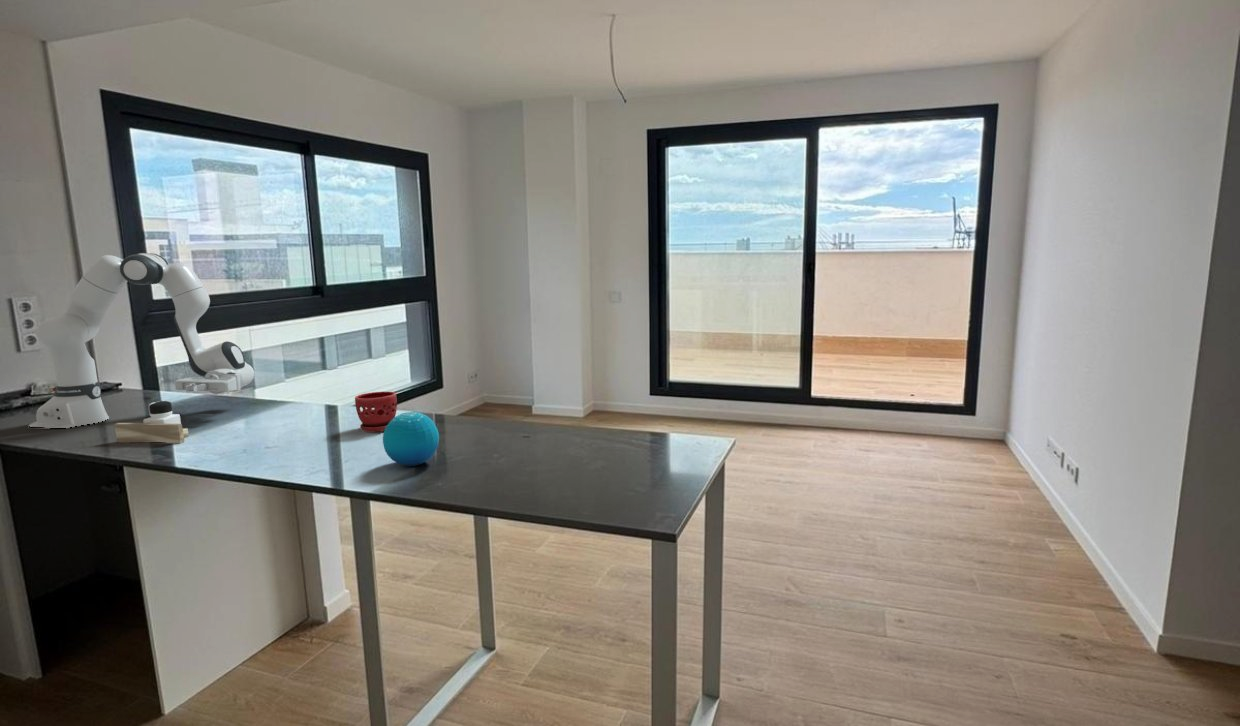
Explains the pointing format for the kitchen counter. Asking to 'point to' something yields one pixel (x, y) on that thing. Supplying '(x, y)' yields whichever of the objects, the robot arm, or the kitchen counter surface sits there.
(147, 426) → the wooden bay
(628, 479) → the kitchen counter surface
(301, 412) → the kitchen counter surface
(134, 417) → the kitchen counter surface
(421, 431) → the decorative orb
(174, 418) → the medicine bottle
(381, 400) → the plant pot
